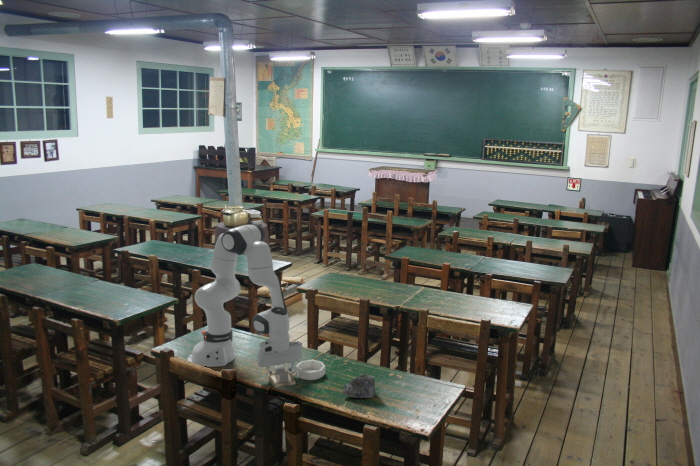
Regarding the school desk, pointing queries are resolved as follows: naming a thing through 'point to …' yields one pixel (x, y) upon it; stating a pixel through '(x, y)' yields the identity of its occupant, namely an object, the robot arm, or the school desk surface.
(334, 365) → the school desk surface
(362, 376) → the mineral rock
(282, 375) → the grey rectangular block
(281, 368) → the grey cube
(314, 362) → the bowl
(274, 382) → the tray
